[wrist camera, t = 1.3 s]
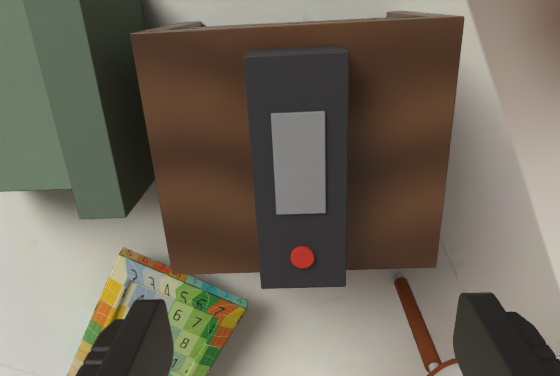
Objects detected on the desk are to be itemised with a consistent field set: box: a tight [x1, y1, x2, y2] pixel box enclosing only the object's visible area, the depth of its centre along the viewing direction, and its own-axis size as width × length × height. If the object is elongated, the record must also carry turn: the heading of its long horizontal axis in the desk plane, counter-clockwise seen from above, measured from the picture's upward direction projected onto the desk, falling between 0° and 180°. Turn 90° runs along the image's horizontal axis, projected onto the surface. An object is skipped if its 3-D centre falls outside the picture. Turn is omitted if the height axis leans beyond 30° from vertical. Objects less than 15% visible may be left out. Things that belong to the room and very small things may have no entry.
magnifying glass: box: [394, 274, 463, 376], centre depth 31 cm, size 9×2×20 cm, turn 144°
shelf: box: [130, 11, 464, 275], centre depth 29 cm, size 14×16×12 cm
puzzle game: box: [67, 247, 248, 376], centre depth 42 cm, size 12×5×20 cm
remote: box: [243, 45, 349, 289], centre depth 22 cm, size 12×4×3 cm, turn 3°
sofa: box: [0, 0, 155, 219], centre depth 29 cm, size 14×14×10 cm
